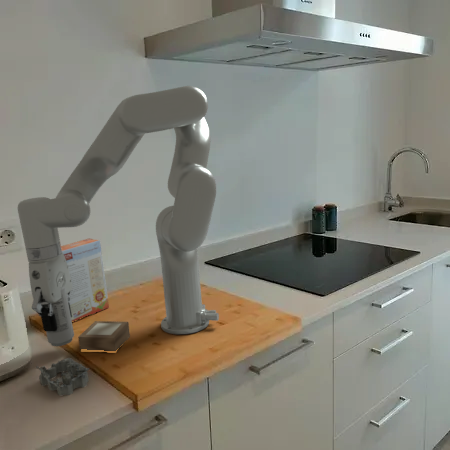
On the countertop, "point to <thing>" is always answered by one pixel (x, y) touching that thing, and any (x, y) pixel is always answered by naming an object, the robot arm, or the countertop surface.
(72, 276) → the cracker box
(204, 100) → the robot arm
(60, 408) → the countertop surface
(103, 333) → the rectangular tray
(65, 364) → the egg carton
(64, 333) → the energy drink can
